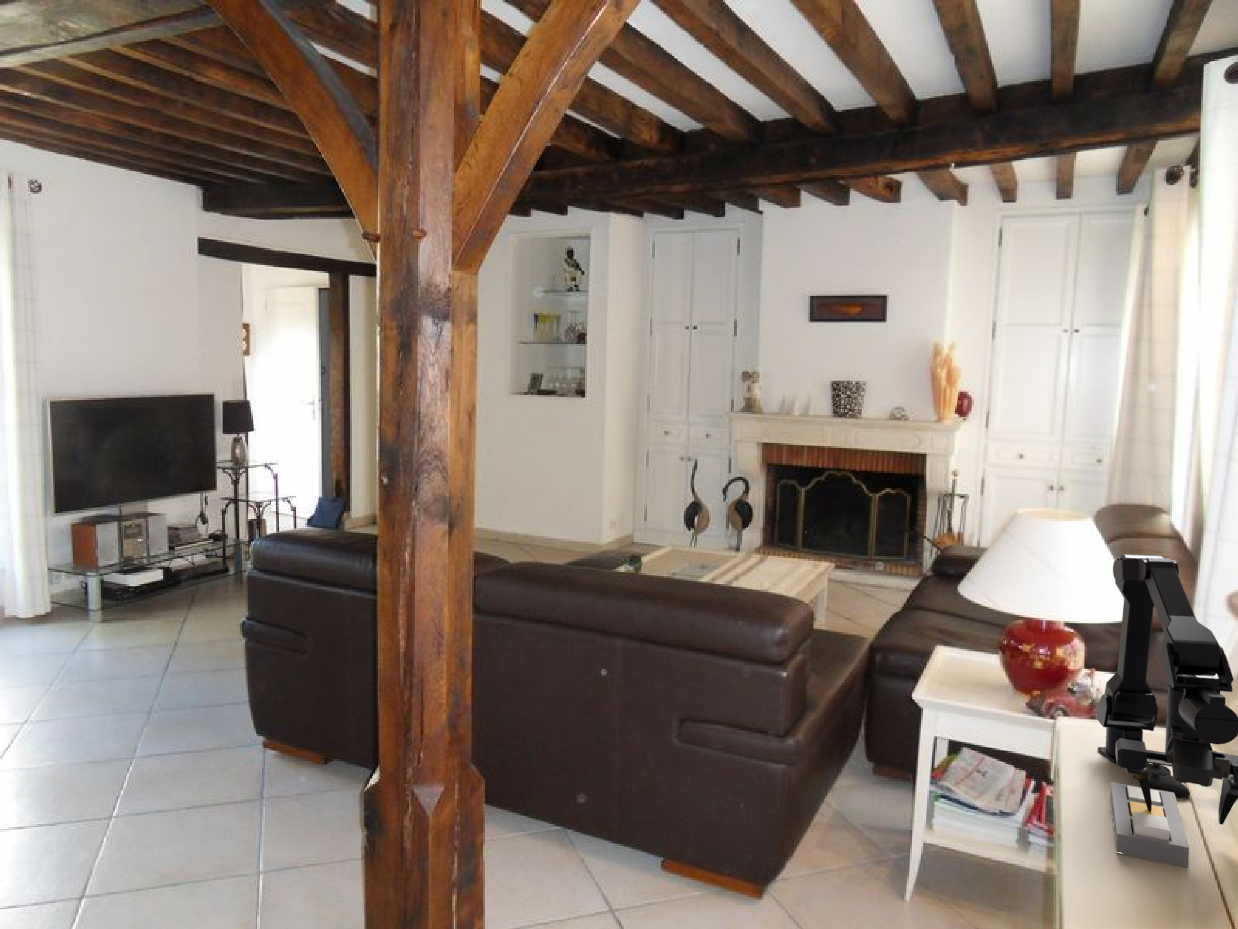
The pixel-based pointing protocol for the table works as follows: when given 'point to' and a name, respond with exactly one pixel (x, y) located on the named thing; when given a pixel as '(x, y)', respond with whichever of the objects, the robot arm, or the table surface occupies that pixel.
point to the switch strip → (1148, 846)
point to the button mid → (1145, 809)
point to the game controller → (1165, 781)
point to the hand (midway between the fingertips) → (1184, 817)
